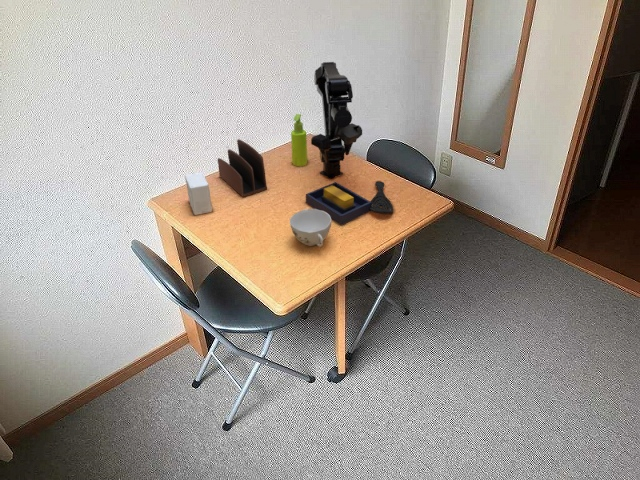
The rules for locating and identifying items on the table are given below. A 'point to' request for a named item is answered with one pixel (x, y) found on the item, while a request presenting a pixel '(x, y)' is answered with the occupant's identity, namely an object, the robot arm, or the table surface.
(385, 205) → the hairbrush
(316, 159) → the table surface
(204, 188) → the cosmetics box
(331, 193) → the duster
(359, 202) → the blue tray
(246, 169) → the letter holder
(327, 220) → the teacup
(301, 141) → the soap dispenser
